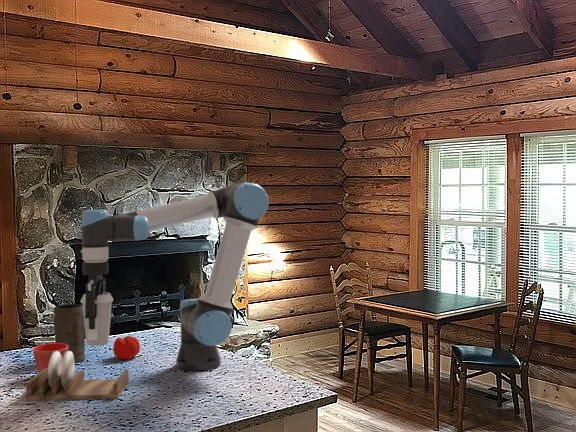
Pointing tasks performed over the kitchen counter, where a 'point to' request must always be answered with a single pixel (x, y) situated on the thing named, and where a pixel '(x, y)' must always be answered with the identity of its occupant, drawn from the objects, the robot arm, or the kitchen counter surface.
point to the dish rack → (71, 382)
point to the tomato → (126, 347)
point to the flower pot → (47, 353)
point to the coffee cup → (100, 319)
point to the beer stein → (70, 329)
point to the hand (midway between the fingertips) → (96, 336)
